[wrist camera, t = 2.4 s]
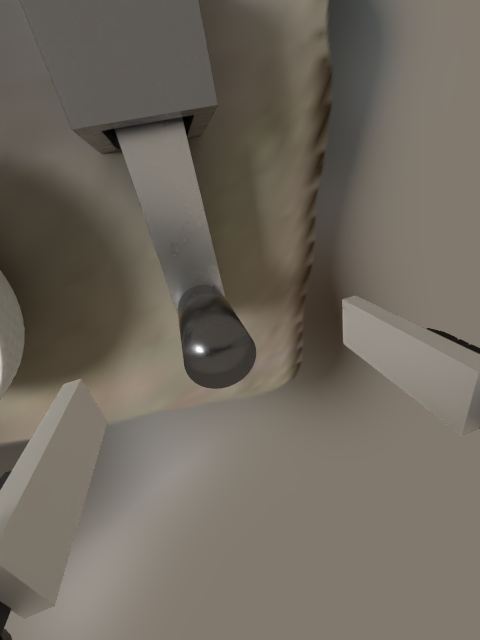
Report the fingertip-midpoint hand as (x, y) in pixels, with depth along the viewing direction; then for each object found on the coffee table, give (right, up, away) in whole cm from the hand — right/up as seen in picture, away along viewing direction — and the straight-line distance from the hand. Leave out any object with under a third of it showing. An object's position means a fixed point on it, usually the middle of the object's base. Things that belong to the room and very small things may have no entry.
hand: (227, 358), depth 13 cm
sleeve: (-6, +18, +3) cm, 19 cm away
